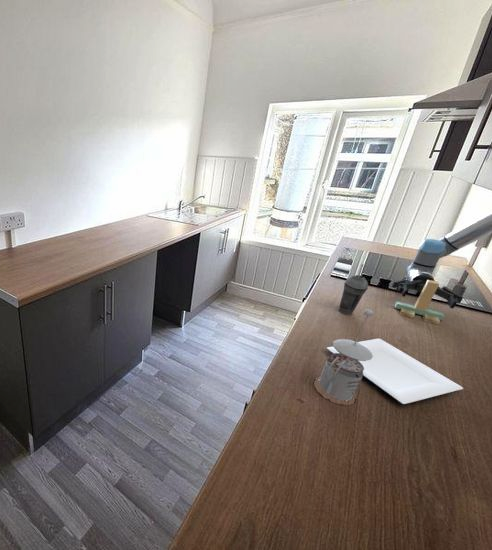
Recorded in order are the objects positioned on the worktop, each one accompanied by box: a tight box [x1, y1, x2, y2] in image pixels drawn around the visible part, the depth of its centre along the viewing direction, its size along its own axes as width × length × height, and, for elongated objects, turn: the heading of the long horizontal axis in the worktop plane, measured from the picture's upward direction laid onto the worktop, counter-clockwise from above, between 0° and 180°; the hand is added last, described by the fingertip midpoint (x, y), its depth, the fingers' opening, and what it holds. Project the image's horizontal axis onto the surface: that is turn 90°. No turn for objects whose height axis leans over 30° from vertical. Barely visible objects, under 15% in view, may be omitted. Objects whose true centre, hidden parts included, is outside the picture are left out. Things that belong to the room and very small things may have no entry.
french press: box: [318, 309, 375, 401], centre depth 73 cm, size 10×12×25 cm
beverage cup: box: [338, 263, 369, 316], centre depth 113 cm, size 7×7×20 cm
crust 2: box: [422, 314, 441, 326], centre depth 113 cm, size 4×4×2 cm
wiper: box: [394, 280, 446, 321], centre depth 115 cm, size 14×3×14 cm, turn 52°
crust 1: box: [399, 308, 416, 319], centre depth 116 cm, size 4×4×2 cm
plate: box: [326, 338, 464, 405], centre depth 86 cm, size 22×22×2 cm
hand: (428, 299), depth 111 cm, fingers open, 13 cm apart
